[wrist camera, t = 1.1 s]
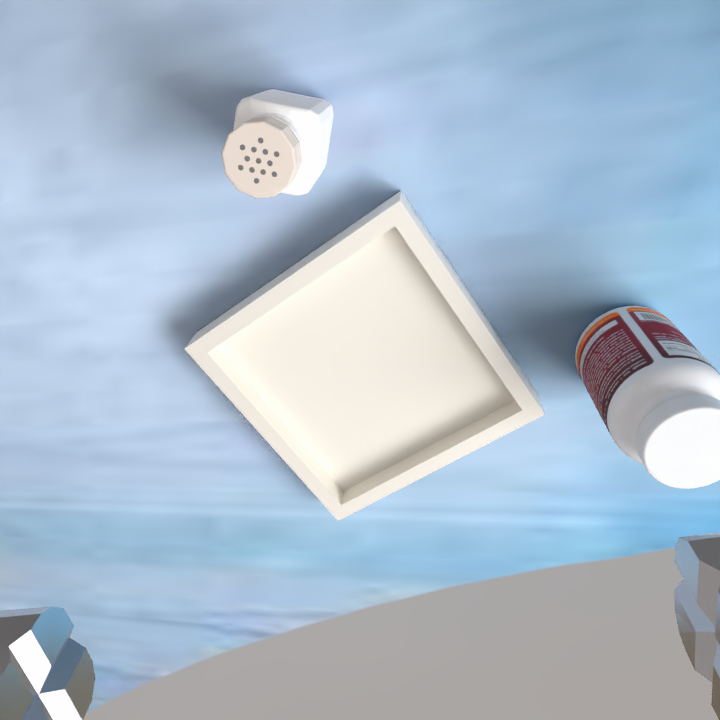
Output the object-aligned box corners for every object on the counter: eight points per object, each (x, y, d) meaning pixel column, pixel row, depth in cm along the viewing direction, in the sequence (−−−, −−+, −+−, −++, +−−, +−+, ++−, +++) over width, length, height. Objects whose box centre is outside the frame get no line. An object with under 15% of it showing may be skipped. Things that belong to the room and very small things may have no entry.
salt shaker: (325, 174, 36) (298, 216, 28) (256, 161, 36) (208, 198, 28) (336, 100, 34) (312, 121, 26) (263, 85, 34) (215, 101, 26)
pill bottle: (584, 402, 42) (637, 515, 32) (562, 320, 39) (612, 415, 29) (684, 375, 40) (771, 484, 30) (667, 288, 38) (756, 376, 28)
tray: (400, 190, 36) (400, 200, 34) (537, 394, 42) (544, 414, 39) (196, 332, 41) (184, 348, 39) (341, 497, 47) (338, 520, 44)
